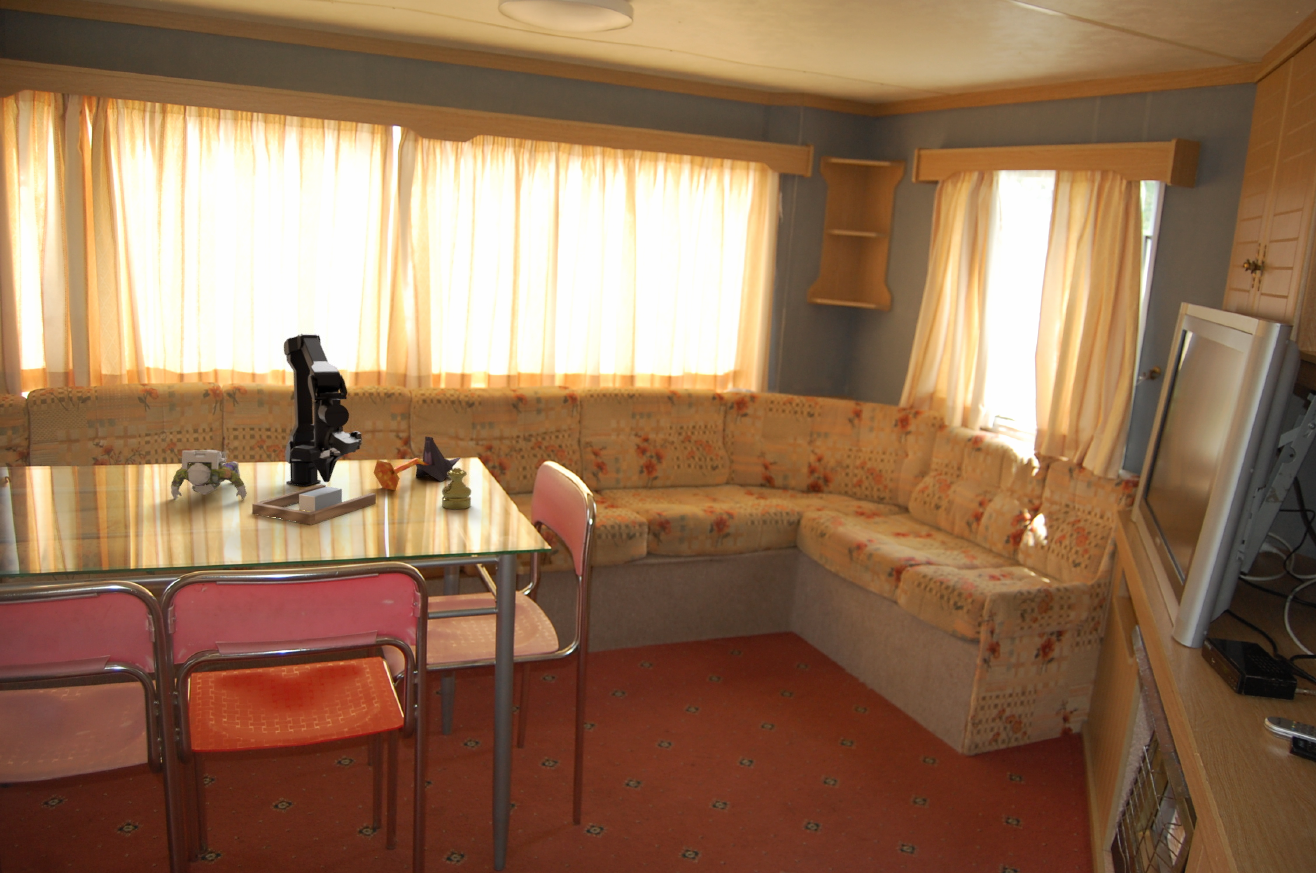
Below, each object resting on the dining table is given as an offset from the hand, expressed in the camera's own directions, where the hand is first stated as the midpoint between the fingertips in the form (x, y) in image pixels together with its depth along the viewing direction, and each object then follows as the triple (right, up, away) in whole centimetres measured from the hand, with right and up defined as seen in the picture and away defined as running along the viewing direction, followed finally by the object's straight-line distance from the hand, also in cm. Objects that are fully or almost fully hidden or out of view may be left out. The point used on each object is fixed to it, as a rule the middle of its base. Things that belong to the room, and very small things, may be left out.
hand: (326, 481), depth 231 cm
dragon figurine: (+15, -2, +30) cm, 34 cm away
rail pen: (-1, -6, -2) cm, 7 cm away
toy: (-30, -4, +4) cm, 31 cm away
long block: (+1, -4, +3) cm, 5 cm away
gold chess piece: (+31, -7, +7) cm, 32 cm away
